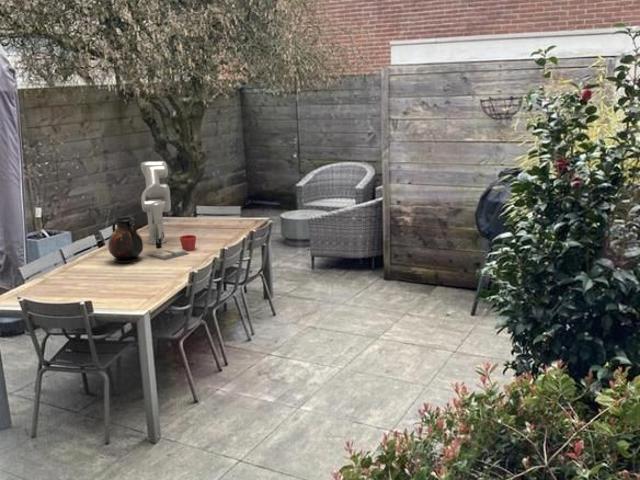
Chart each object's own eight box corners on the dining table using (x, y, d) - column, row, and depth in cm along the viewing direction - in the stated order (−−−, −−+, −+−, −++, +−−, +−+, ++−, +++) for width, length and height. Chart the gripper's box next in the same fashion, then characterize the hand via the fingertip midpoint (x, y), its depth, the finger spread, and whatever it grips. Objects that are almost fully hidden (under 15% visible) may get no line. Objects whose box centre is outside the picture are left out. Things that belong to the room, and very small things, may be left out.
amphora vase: (151, 258, 393) (148, 216, 386) (128, 267, 374) (124, 223, 367) (126, 255, 402) (122, 214, 395) (102, 263, 383) (98, 220, 376)
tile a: (166, 250, 403) (175, 252, 397) (176, 248, 409) (185, 250, 403) (166, 253, 404) (175, 255, 398) (176, 250, 410) (185, 253, 404)
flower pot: (193, 252, 407) (192, 238, 405) (178, 252, 409) (177, 238, 407) (199, 248, 417) (198, 235, 415) (184, 248, 419) (183, 234, 417)
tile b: (153, 253, 395) (162, 255, 389) (163, 251, 401) (172, 253, 395) (153, 256, 396) (162, 258, 390) (163, 254, 402) (172, 256, 396)
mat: (146, 256, 399) (146, 255, 398) (172, 249, 414) (172, 249, 414) (164, 261, 386) (164, 260, 386) (190, 254, 402) (190, 253, 402)
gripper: (145, 220, 394) (147, 247, 399) (159, 223, 385) (161, 251, 390) (154, 218, 400) (156, 245, 405) (168, 221, 391) (170, 248, 395)
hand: (158, 248), depth 397 cm, fingers closed
